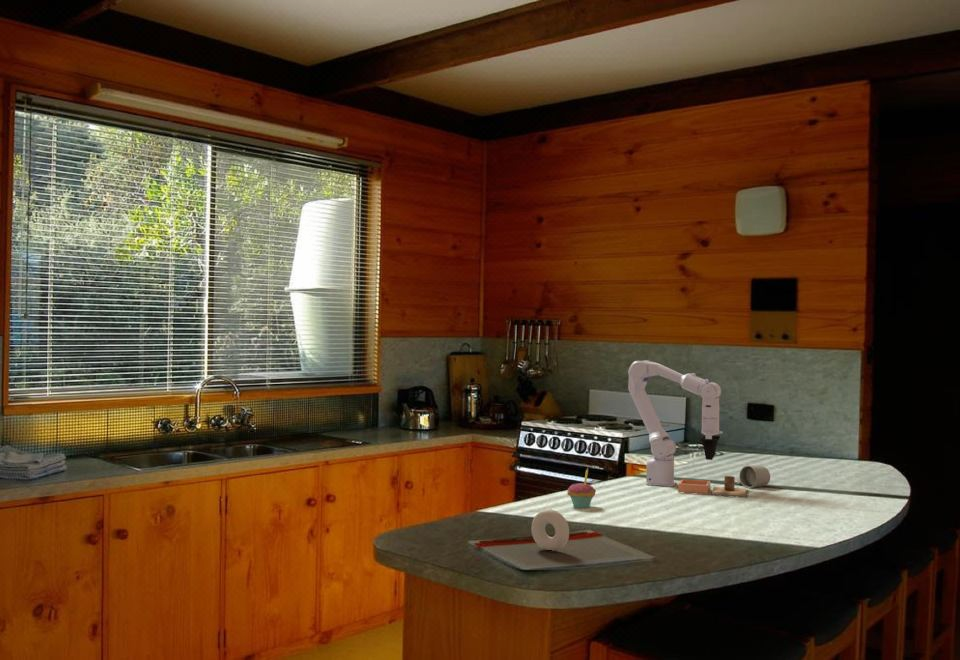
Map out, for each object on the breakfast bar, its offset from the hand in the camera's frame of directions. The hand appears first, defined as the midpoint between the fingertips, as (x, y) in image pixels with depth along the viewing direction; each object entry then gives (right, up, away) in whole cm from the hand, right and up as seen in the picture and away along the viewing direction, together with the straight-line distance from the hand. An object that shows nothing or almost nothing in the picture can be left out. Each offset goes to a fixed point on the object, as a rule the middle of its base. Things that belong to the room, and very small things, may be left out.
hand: (710, 458), depth 299 cm
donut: (-61, -10, -88) cm, 108 cm away
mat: (+5, -10, -8) cm, 14 cm away
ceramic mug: (+16, -11, +6) cm, 20 cm away
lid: (+4, -10, -8) cm, 13 cm away
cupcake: (-48, -10, -33) cm, 59 cm away
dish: (-7, -10, -5) cm, 13 cm away
